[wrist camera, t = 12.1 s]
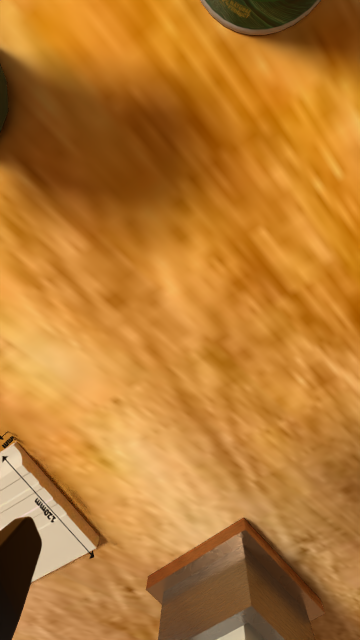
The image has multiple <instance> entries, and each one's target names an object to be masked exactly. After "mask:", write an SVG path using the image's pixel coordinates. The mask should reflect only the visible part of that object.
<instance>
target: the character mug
mask: <svg viewBox="0 0 360 640" xmlns="http://www.w3.org/2000/svg"><path fill="white" fill-rule="evenodd" d="M7 113H8V93H7V80H6V78H5V75H4V73H3V70H2V67H1V65H0V132H1V129H2V127H3V124H4V121H5V119H6V116H7Z"/></svg>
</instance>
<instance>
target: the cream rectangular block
mask: <svg viewBox="0 0 360 640" xmlns="http://www.w3.org/2000/svg"><path fill="white" fill-rule="evenodd" d="M217 640H266V639H265V638H264V637H263V636H262V635H261V634H260V633H259V632H258V631H257V630H255V629H254V628H253V627H252V626H251V625H250V624H249V623H247V624H245V625H243V626H241V627H239V628H237V629H236V630H234V631H232V632H230V633H228V634H226V635H224V636H222V637H220V638H218V639H217Z"/></svg>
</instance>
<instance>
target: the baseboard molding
mask: <svg viewBox="0 0 360 640" xmlns="http://www.w3.org/2000/svg"><path fill="white" fill-rule="evenodd" d="M7 432H8V431H7ZM7 432H6V433H7ZM6 433H5V434H6ZM5 434H4V435H5ZM4 435H3V436H4ZM3 436H2V437H3ZM2 437H1V436H0V439H2V440H4V439H3V438H2ZM13 439H14V438H13V436H12V437H10V438H9V439H8V440H9V441H10V442H9V441H8V440H7V441H6V442H5V443H6V444H7V445H6V444H5V443H4V445H5V446H4V445H2V446H3V447H4V448H6V447H7V446H8V445H9V444H10V443H11V442H12V441H13ZM14 440H15V439H14ZM8 443H9V444H8ZM27 516H29V517H31V518H33V520H34V522H35V525H36V527H37V530H38V532H39V534H40V537H41V539H42V548H41V552H40V556H39V559H38V562H37V565H36V568H35V572H34V575H33V578H32V581H31V582H33V581H35V580H37V579H39V578H41V577H42V576H44V575H46V574H48V573H50V572H52V571H54V570H56V569H58V568H60V567H61V566H63V565H65V564H67V563H69V562H71V561H73V560H75V559H77V558H79V557H80V556H82V555H84V554H86V553H88V552H89V553H90V551H92V550H94V549H96V548H97V545H98V542H99V536H98V534H97V533H96V532H95V531H94V530H93V529H92V528H91V526H90V525H89V524H88V523H87V522H86V521H85V520H84V518H83V517H82V516H81V515H80V514H79V513H78V512H77V510H76V509H75V508H74V507H73V506H72V505H71V504H70V502H69V501H68V500H67V499H66V498H65V497H64V496H63V494H62V493H61V492H60V491H59V490H58V489H57V488H56V486H55V485H54V484H53V483H52V482H51V481H50V480H49V478H48V477H47V476H46V475H45V474H44V473H43V472H42V470H41V469H40V468H39V467H38V466H37V465H36V464H35V462H34V461H33V460H32V459H31V458H30V457H29V456H28V454H27V453H26V452H25V451H24V450H23V449H22V448H21V446H20V445H19V444H18V443H17V442H15V443H13V444H12V445H10V446H9V447H7V448H6V449H4V450H3V451H1V452H0V530H2V529H3V528H4V527H5V526H7V525H8V524H9V523H10V522H11V521H13V520H14V519H16V518H20V517H27ZM90 554H91V556H90V558H93V557H94V554H93V551H92V553H90Z"/></svg>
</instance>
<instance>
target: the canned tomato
mask: <svg viewBox="0 0 360 640" xmlns="http://www.w3.org/2000/svg"><path fill="white" fill-rule="evenodd" d="M200 1H201V3H202V4H203V6H204V7H205V8H206V9H207V11H208V12H209V13H210V14H211V16H213V17H214V18H215V19H216V20H217V21H219V22H220V23H221V24H222V25H224V26H226V27H228V28H230V29H232V30H234V31H236V32H240V33H244V34H248V35H266V34H271V33H275V32H279V31H281V30H284V29H286V28H288V27H290V26H292V25H294V24H296V23H297V22H298V21H300V20H301V19H302V18H304V17H305V16H306V15H308V14H309V13H310V12H311V11H312V10H313V8H314V7H315V6H316V5H317V4H318V3H319V2H320V1H321V0H200Z"/></svg>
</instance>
